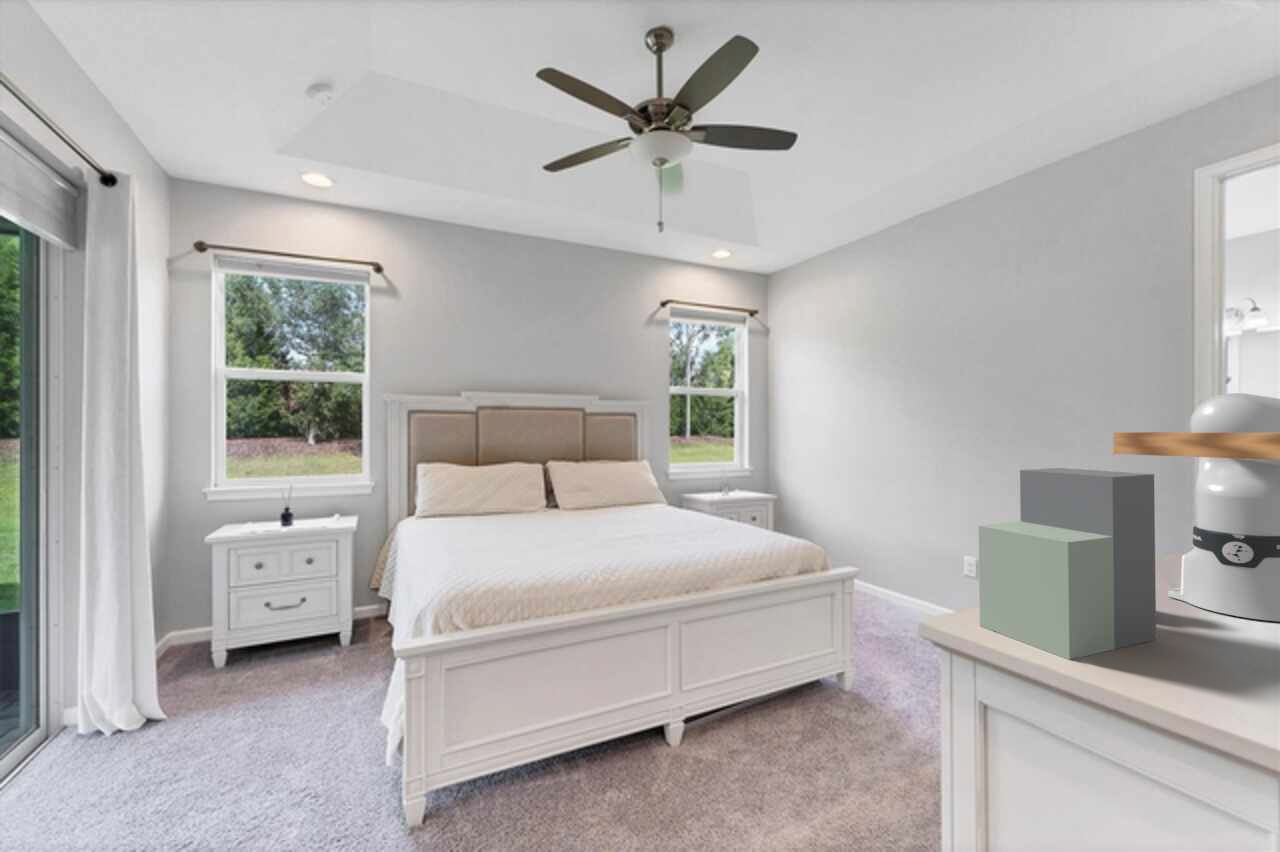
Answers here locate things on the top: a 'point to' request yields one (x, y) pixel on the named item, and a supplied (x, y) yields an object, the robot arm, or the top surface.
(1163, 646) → the top surface
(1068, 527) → the stepped stand
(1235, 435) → the orange bar
